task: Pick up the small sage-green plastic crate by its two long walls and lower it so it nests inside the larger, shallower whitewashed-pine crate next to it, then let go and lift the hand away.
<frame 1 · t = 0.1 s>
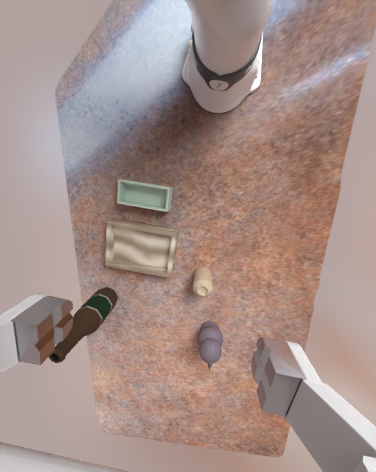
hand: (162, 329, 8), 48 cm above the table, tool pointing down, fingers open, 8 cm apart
green crate: (148, 194, 54), on the table
beer bottle: (108, 296, 65), on the table
pine crate: (143, 245, 59), on the table
candle: (203, 273, 60), on the table
cat figurine: (209, 328, 65), on the table
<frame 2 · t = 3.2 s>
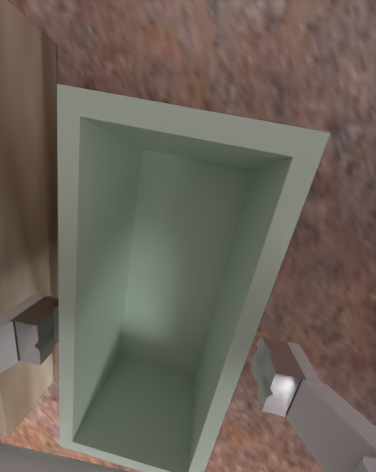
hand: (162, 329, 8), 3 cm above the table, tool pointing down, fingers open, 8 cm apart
green crate: (175, 274, 11), on the table
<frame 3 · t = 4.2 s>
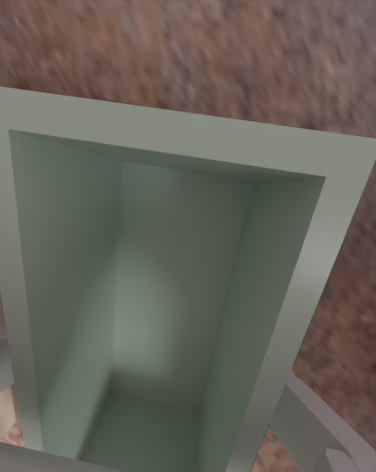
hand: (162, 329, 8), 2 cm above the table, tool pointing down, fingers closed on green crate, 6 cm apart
green crate: (169, 302, 10), on the table, touching gripper
when the fingers open (4 cm above the table, at t = 10.7 s): green crate drops 1 cm, resting on pine crate.
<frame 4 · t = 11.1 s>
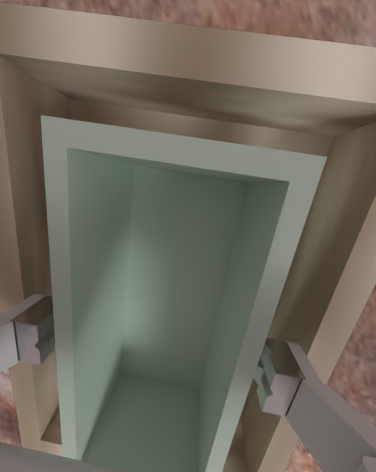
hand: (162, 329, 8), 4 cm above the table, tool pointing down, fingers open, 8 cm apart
green crate: (174, 288, 11), point 1 cm above the table, touching pine crate
pine crate: (174, 283, 12), on the table
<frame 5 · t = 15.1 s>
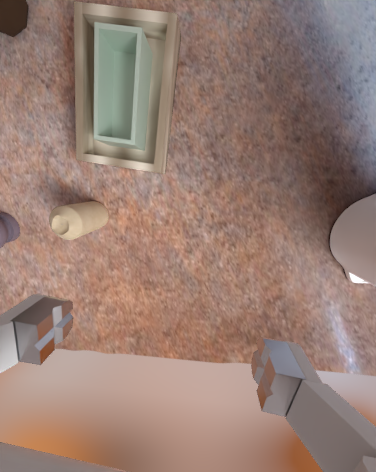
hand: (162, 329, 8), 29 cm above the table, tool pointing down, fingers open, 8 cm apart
green crate: (129, 102, 31), point 1 cm above the table, touching pine crate
beer bottle: (8, 9, 30), on the table
pine crate: (131, 105, 32), on the table
candle: (96, 214, 38), on the table
cat figurine: (7, 226, 41), on the table
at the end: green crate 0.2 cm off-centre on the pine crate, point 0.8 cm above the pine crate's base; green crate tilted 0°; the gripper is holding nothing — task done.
